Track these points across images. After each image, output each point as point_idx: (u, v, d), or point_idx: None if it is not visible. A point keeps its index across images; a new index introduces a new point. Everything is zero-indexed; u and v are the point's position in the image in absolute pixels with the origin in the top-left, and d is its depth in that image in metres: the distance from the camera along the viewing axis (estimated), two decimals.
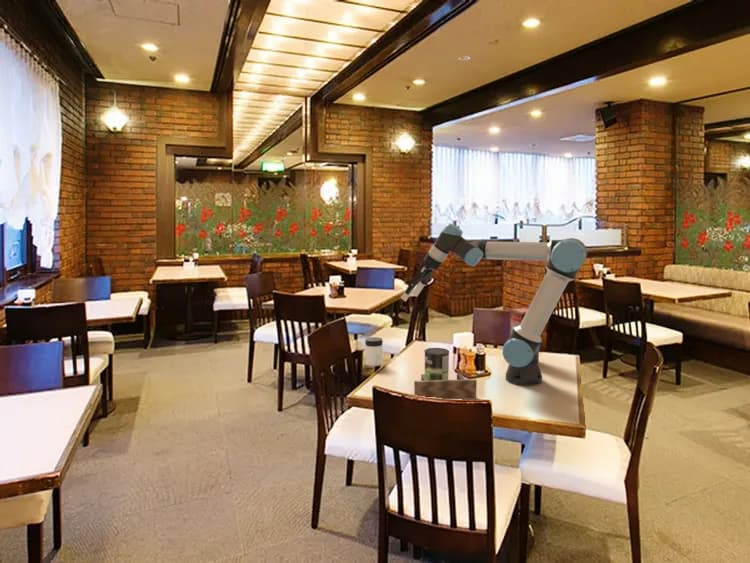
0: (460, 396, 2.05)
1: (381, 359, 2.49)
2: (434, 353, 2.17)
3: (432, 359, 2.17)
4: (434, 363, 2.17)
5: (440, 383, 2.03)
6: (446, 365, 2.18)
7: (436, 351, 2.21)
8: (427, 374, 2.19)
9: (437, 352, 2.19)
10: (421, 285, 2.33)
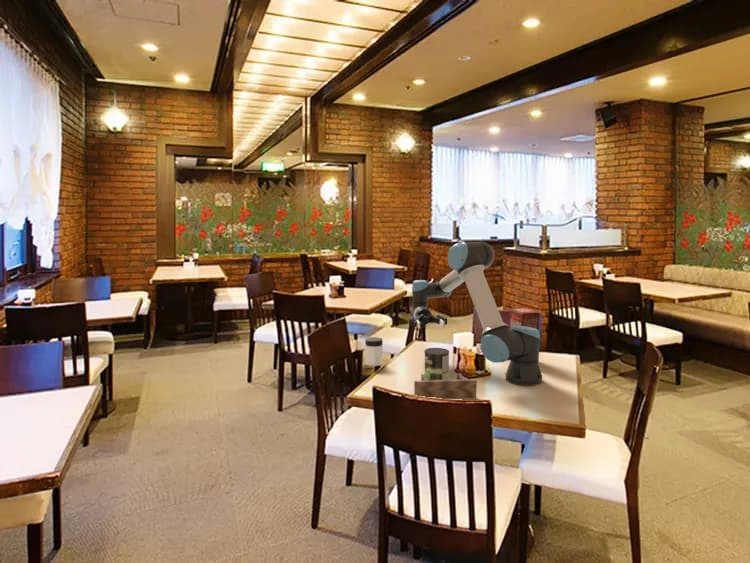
0: (460, 396, 2.05)
1: (381, 359, 2.49)
2: (434, 353, 2.17)
3: (432, 359, 2.17)
4: (434, 363, 2.17)
5: (440, 383, 2.03)
6: (446, 365, 2.18)
7: (436, 351, 2.21)
8: (427, 374, 2.19)
9: (437, 352, 2.19)
10: (440, 321, 2.38)
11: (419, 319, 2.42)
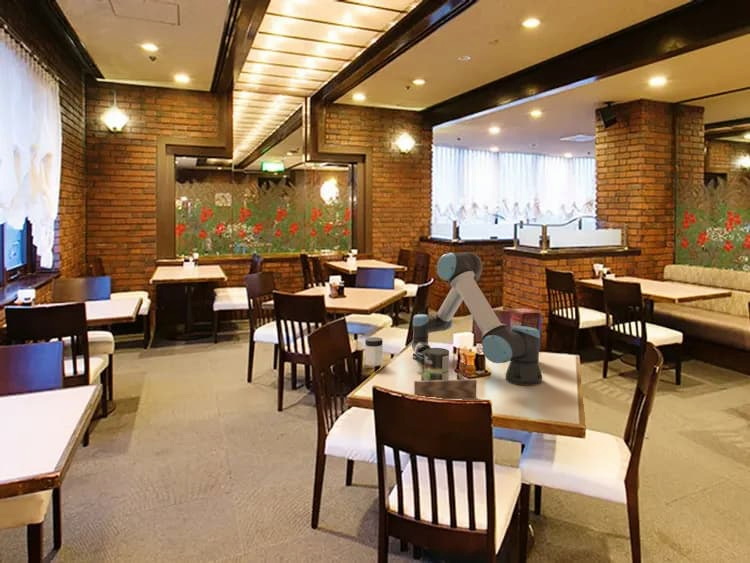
0: (460, 396, 2.05)
1: (381, 359, 2.49)
2: (434, 353, 2.17)
3: (432, 359, 2.16)
4: (434, 363, 2.16)
5: (440, 383, 2.03)
6: (446, 365, 2.18)
7: (436, 351, 2.21)
8: (427, 374, 2.19)
9: (437, 352, 2.19)
10: None
11: None
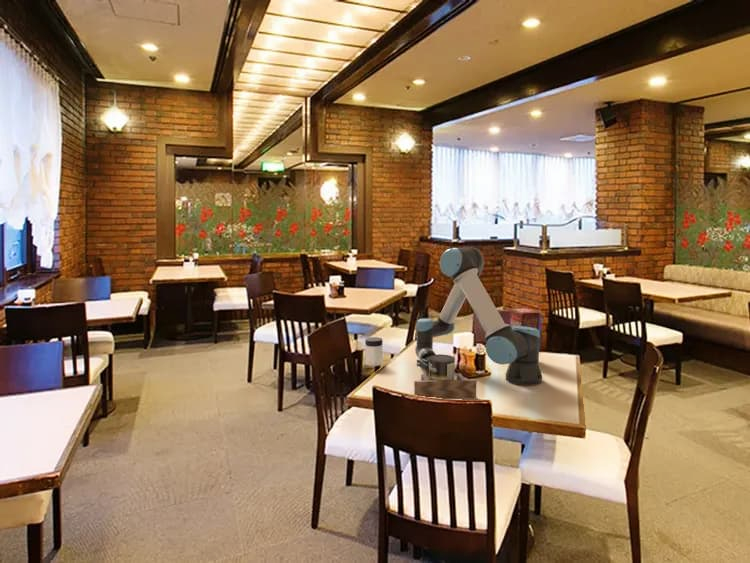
0: (460, 396, 2.05)
1: (381, 359, 2.49)
2: (439, 360, 2.07)
3: (437, 366, 2.06)
4: (438, 371, 2.06)
5: (440, 383, 2.03)
6: (451, 373, 2.07)
7: (441, 358, 2.10)
8: None
9: (442, 359, 2.09)
10: None
11: None
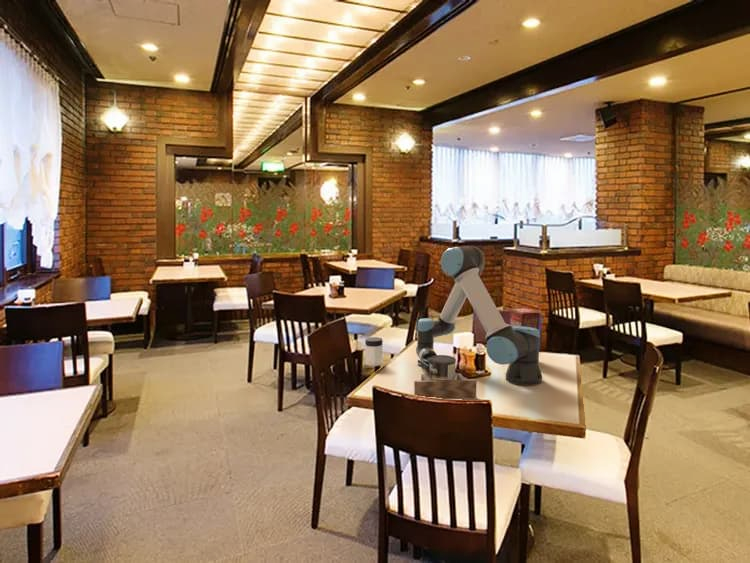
0: (460, 396, 2.05)
1: (381, 359, 2.49)
2: (439, 361, 2.06)
3: (437, 367, 2.05)
4: (439, 372, 2.05)
5: (440, 383, 2.03)
6: (452, 374, 2.06)
7: (442, 358, 2.09)
8: None
9: (443, 360, 2.07)
10: None
11: None
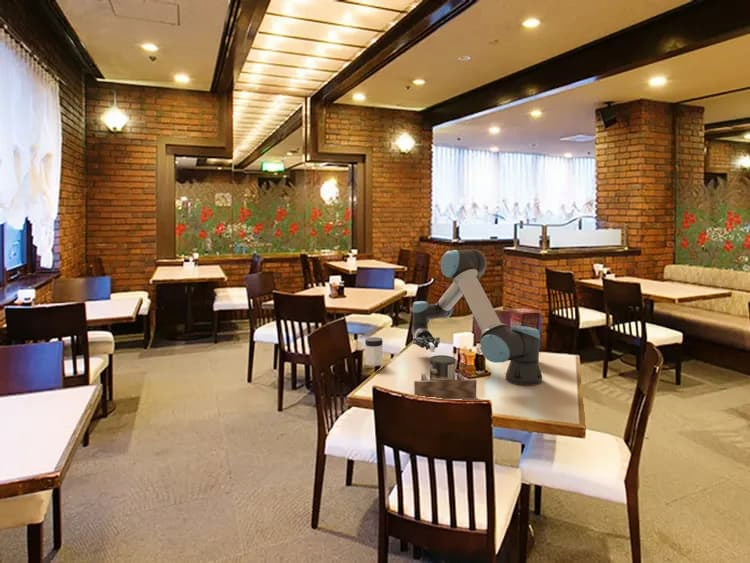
0: (460, 396, 2.05)
1: (381, 359, 2.49)
2: (439, 361, 2.06)
3: (437, 367, 2.05)
4: (439, 372, 2.05)
5: (440, 383, 2.03)
6: (451, 374, 2.06)
7: (442, 359, 2.09)
8: None
9: (443, 360, 2.08)
10: None
11: None
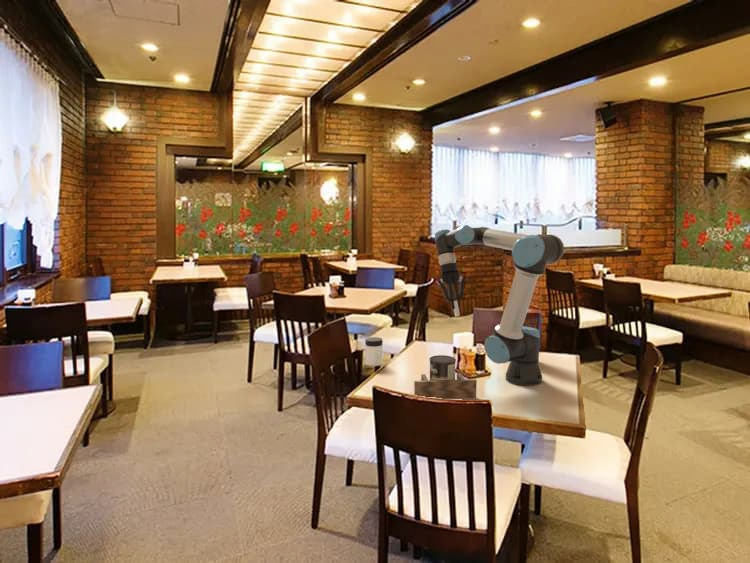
0: (460, 396, 2.05)
1: (381, 359, 2.49)
2: (439, 361, 2.06)
3: (437, 367, 2.05)
4: (439, 372, 2.05)
5: (440, 383, 2.03)
6: (452, 374, 2.06)
7: (442, 359, 2.09)
8: None
9: (443, 360, 2.08)
10: None
11: None
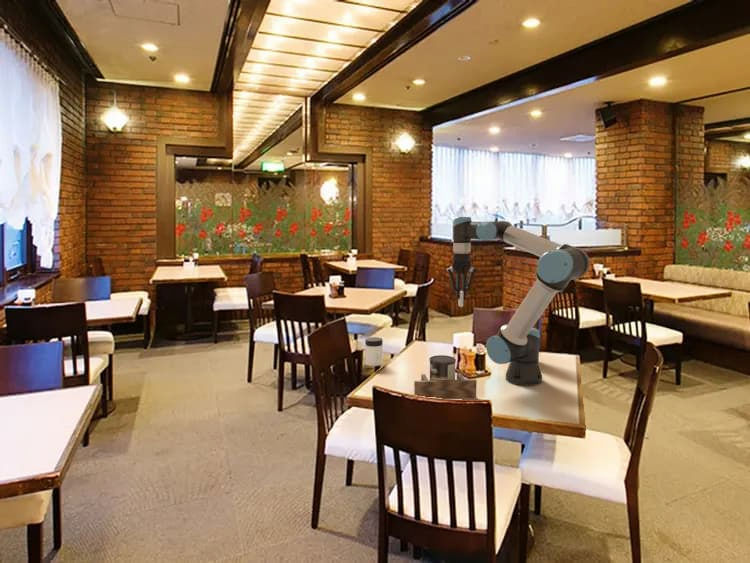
0: (460, 396, 2.05)
1: (381, 359, 2.49)
2: (439, 361, 2.06)
3: (437, 367, 2.05)
4: (439, 372, 2.05)
5: (440, 383, 2.03)
6: (451, 374, 2.06)
7: (442, 359, 2.09)
8: None
9: (443, 360, 2.08)
10: None
11: None
